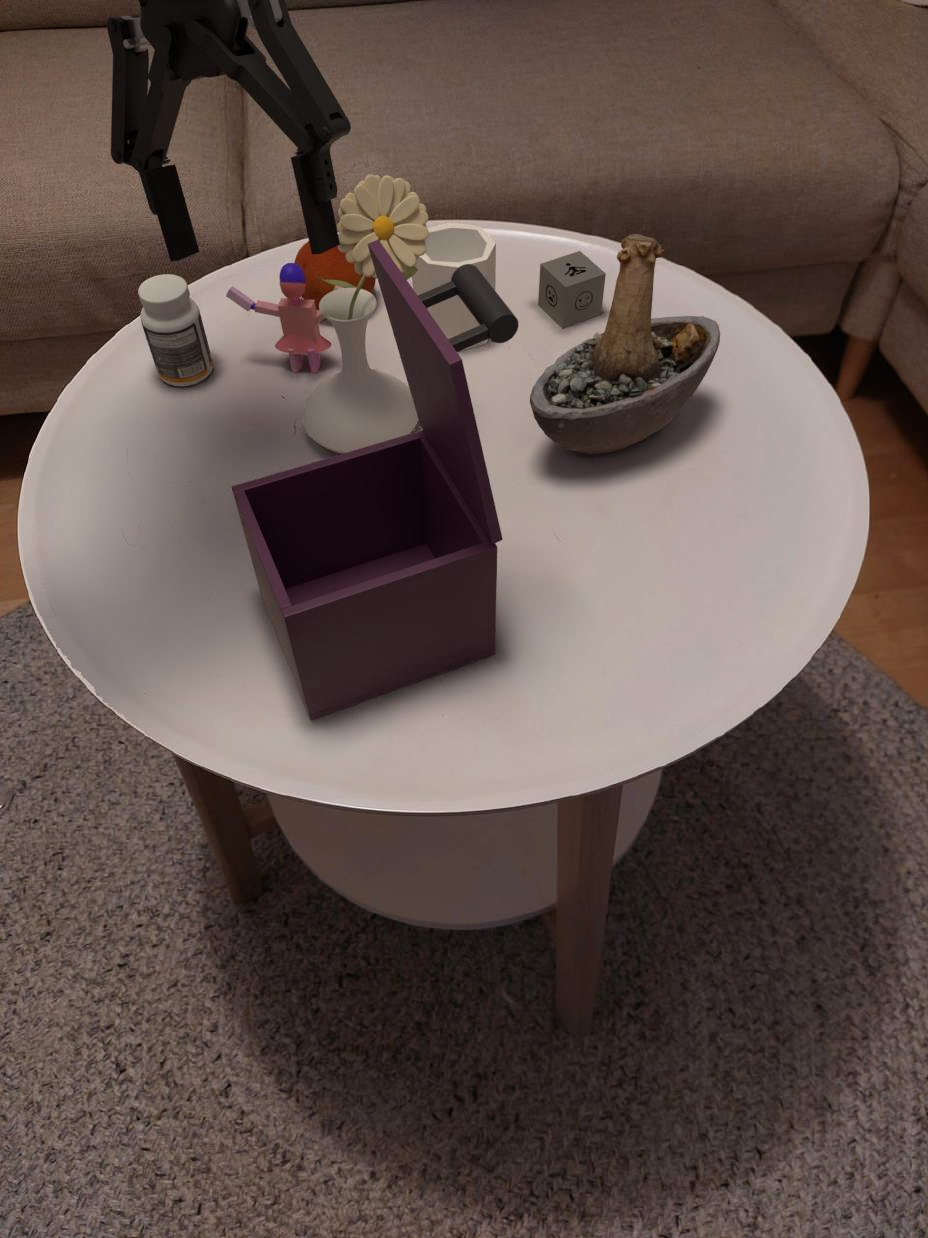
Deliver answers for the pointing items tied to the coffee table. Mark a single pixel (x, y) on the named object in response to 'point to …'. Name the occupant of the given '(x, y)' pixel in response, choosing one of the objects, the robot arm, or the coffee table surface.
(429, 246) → the mug
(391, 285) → the lid
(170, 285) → the pill bottle
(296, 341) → the figurine
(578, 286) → the dice cube
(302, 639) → the chest
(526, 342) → the coffee table surface
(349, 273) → the fruit
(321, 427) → the flower in vase
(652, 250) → the planter
